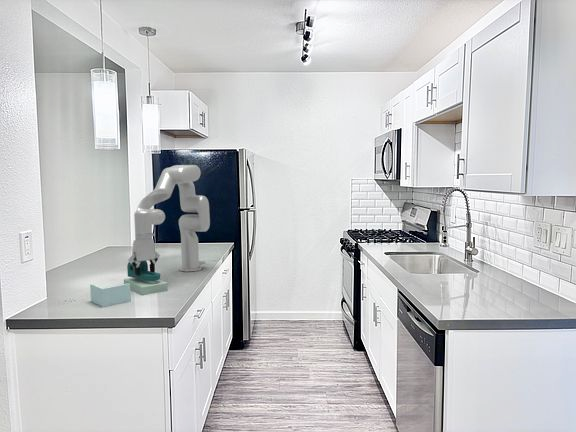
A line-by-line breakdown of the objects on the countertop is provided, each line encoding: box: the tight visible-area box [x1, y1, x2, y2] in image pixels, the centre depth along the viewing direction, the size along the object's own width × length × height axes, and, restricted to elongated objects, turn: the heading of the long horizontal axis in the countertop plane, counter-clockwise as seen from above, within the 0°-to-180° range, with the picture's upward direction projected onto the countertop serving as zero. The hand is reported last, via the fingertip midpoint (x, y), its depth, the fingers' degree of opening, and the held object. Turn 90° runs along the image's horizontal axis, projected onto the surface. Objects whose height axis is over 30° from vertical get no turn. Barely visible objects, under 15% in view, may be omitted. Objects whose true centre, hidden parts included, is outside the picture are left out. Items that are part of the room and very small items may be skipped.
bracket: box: [126, 260, 161, 281], centre depth 205 cm, size 18×7×8 cm, turn 55°
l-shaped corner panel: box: [89, 283, 132, 308], centre depth 184 cm, size 12×12×8 cm
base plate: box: [123, 277, 169, 296], centre depth 205 cm, size 12×22×4 cm, turn 42°
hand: (145, 273), depth 205 cm, fingers closed on bracket, 7 cm apart
